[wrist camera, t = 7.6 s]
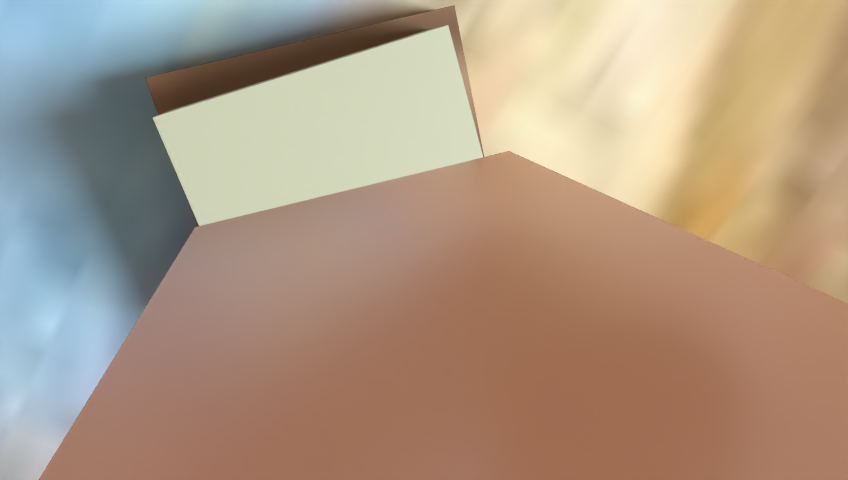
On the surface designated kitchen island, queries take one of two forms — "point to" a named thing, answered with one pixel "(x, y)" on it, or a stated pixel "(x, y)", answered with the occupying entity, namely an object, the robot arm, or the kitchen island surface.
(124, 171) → the kitchen island surface
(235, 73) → the walnut block
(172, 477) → the terracotta block
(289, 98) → the sage block
